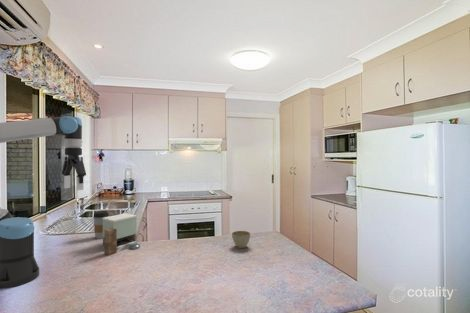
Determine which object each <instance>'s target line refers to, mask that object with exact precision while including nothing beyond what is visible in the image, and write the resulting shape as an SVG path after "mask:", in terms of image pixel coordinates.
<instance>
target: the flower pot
mask: <svg viewBox="0 0 470 313" xmlns="http://www.w3.org/2000/svg"><path fill="white" fill-rule="evenodd" d="M231 237H232V241H233V243H234V245H235V246H236V247H237V248H238V249H244V248H246V247H247V246H248V245H249V242H250V238H251V232H250V231H246V230H235V231H233V232H232V233H231Z"/></svg>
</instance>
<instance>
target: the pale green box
mask: <svg viewBox="0 0 470 313" xmlns="http://www.w3.org/2000/svg"><path fill="white" fill-rule="evenodd" d="M137 217H138V216H137V215H136V214H131V213H128V212H127V213H125V212H124V213H120V214H115V215H109V217H105V218H102V219H103V239H102V246H104V230H105V229H109V228H114V229H117V242H119V241H124V240H127V241H129V242H130V241H131V242H134V241H137Z"/></svg>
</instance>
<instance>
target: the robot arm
mask: <svg viewBox="0 0 470 313" xmlns="http://www.w3.org/2000/svg"><path fill="white" fill-rule="evenodd" d="M49 136H50V137H51V136H64V155H65V156H64V161H63V162H64V163H63V166H62V170H61V175H63V189H71V172H72V169H73V168H74V171H75V173H76V174H77V175H76V190H77V191H83V190H84V177H85V176H87V172H86V168H85V167H86V166H85V163H84V159H83V156H82V155H83V148H82V145H83V144H82V143H83V140H82V139H83V137H82V136H83V122H82V119H81V117H76V116H68V115H66V116H65V115H64V116H59V117H58V116H57V117H48V118H46V117H38V118H37V119H27V120H26V119H25V120H16V121H5V122H0V144H1V143H8V142H10V143H11V142H15V141H22V140H29V139H36V138H43V137H49ZM34 238H35V224H34V221H33V219H31V218H29V217H25V216H24V217H22V216H21V217H19V216H17V217H15V216H13V215H12V214H11V212H10V211H9V210H8V209H6V208H1V207H0V290H1V289H9V288H14V287H18V286H21V285H24V284H27V283H29V282H32V281H34V280H35V279H37V278H38V277H39V276H40V267H39V265H38V262H37V260H36V257H35V239H34Z"/></svg>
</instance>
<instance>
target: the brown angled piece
mask: <svg viewBox="0 0 470 313" xmlns="http://www.w3.org/2000/svg"><path fill="white" fill-rule="evenodd" d="M117 242H118V241H117V229H114V228H109V229H105V230H104V245H103V246H104V249H103V250H104V255H106V256H112V255H114V254H117V252H121V251H124V250H126V249H130V245H132V244H138V241H137V240H136V241H131V242H127V243H125V244H121V245H118V246H117V244H118V243H117Z"/></svg>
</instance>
